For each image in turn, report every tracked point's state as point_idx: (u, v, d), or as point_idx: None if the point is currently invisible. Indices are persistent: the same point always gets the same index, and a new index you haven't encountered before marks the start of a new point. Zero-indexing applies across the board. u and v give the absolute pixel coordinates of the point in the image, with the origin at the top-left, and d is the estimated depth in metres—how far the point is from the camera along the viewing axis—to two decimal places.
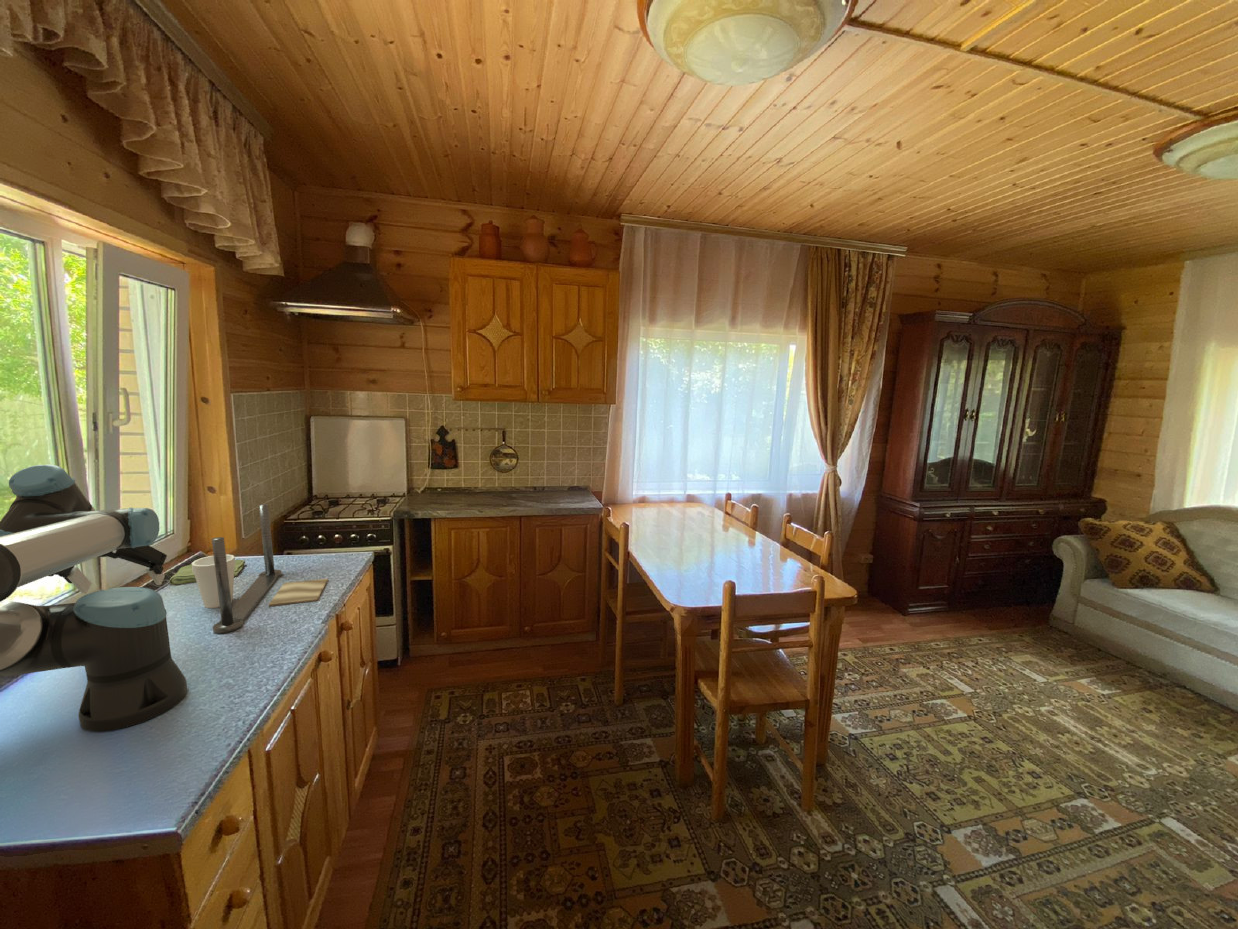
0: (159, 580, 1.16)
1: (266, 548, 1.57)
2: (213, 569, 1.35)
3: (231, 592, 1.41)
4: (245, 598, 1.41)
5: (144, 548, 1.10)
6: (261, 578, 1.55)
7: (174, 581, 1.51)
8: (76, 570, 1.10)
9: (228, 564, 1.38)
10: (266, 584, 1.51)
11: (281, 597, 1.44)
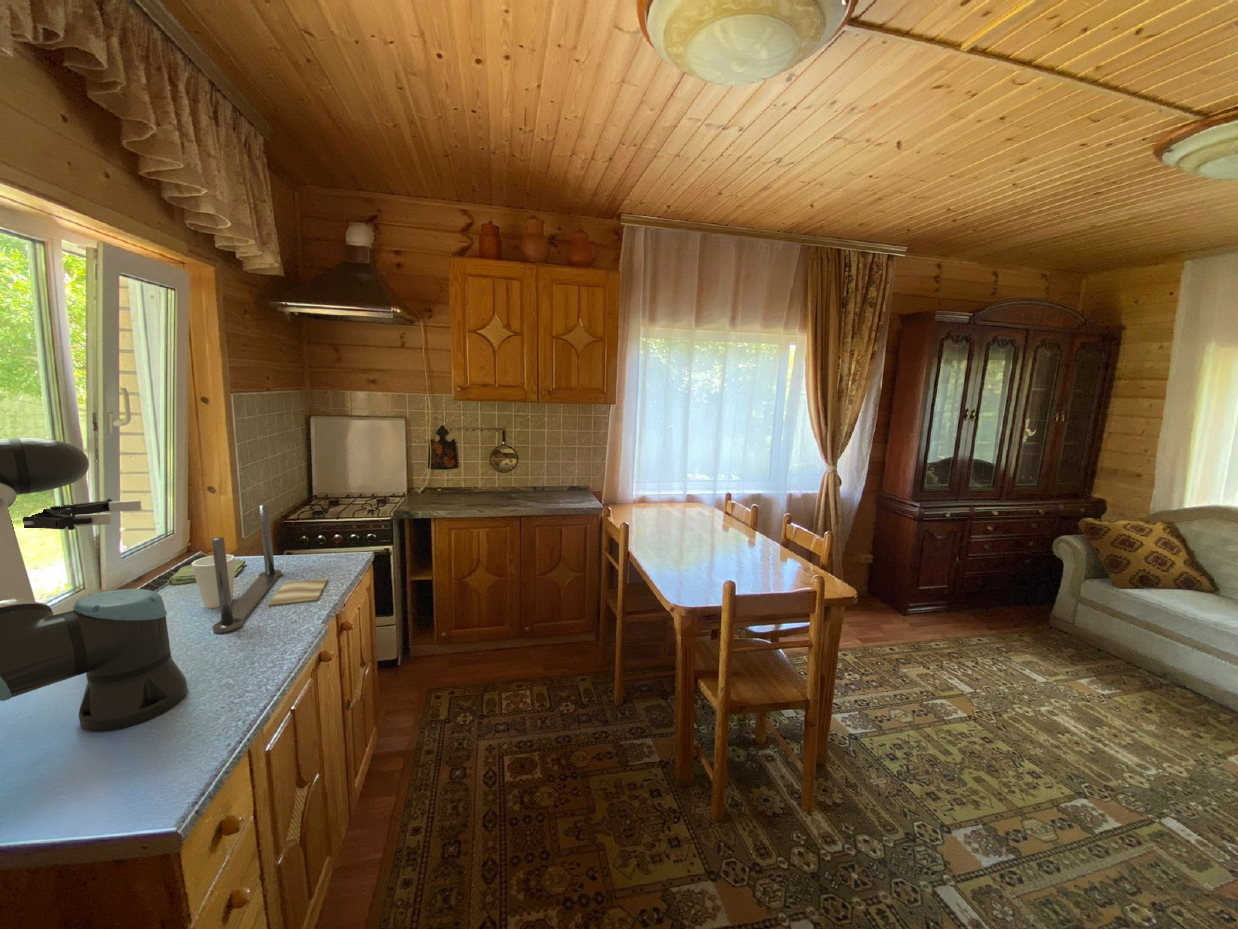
0: None
1: (266, 548, 1.57)
2: (213, 569, 1.35)
3: (231, 592, 1.41)
4: (245, 598, 1.41)
5: None
6: (261, 578, 1.55)
7: (173, 581, 1.51)
8: None
9: (228, 564, 1.38)
10: (266, 584, 1.51)
11: (281, 597, 1.44)
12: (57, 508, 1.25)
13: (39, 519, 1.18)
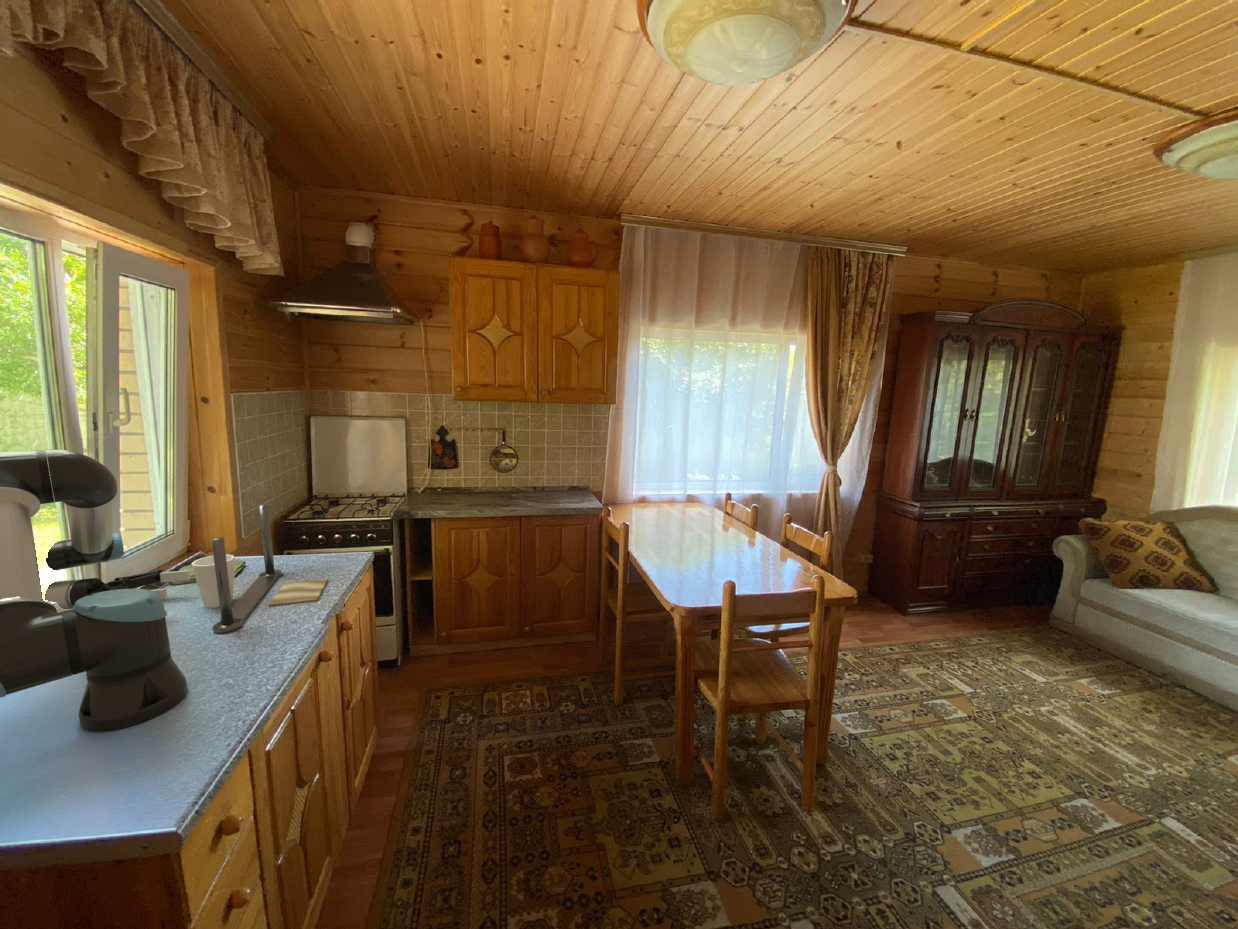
0: None
1: (266, 548, 1.57)
2: (213, 569, 1.35)
3: (231, 592, 1.41)
4: (245, 598, 1.41)
5: None
6: (261, 578, 1.55)
7: (172, 581, 1.51)
8: None
9: (228, 564, 1.38)
10: (266, 584, 1.51)
11: (281, 597, 1.44)
12: (114, 583, 1.32)
13: None
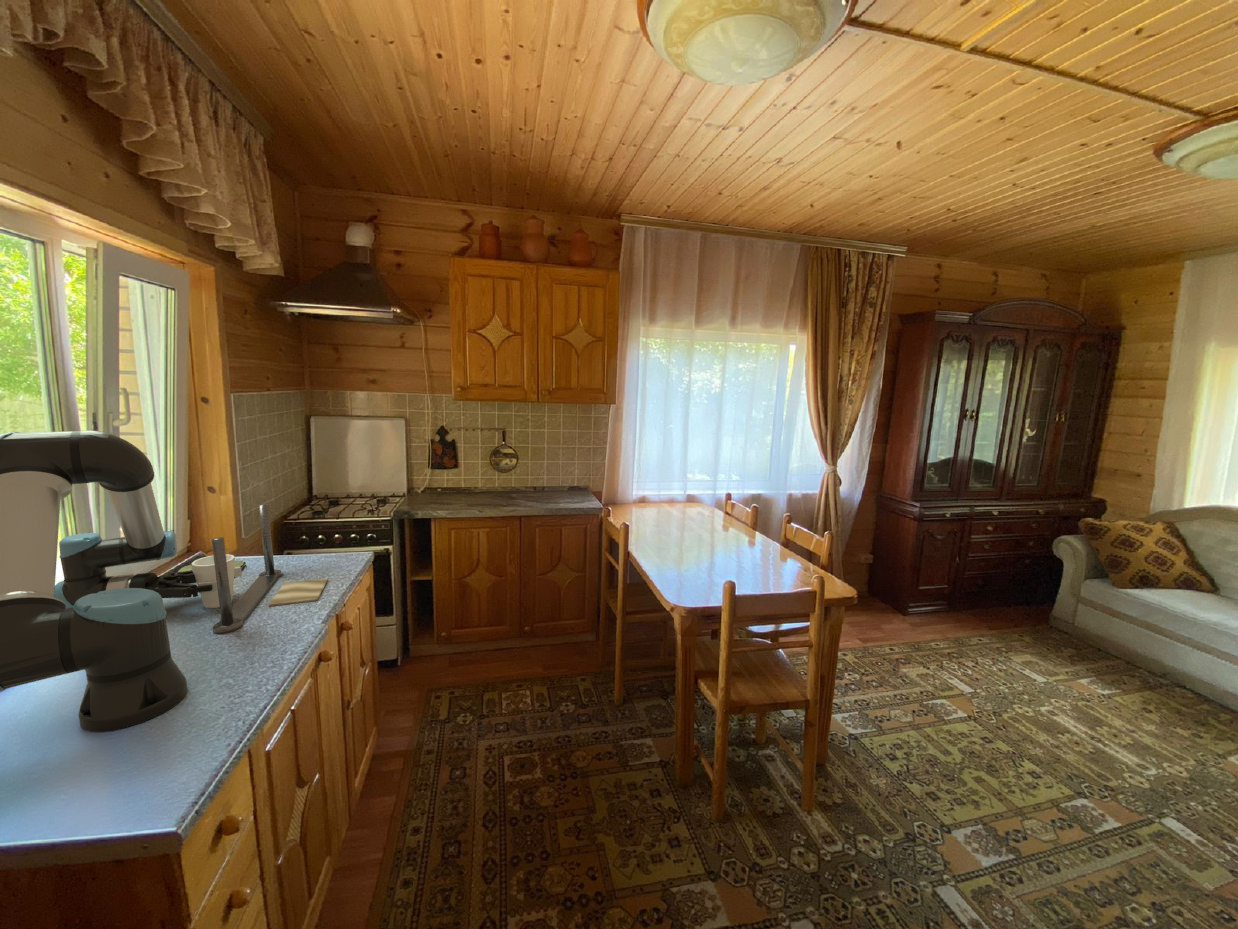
0: None
1: (266, 548, 1.57)
2: (213, 569, 1.35)
3: (231, 592, 1.41)
4: (245, 598, 1.41)
5: None
6: (261, 578, 1.55)
7: None
8: None
9: (228, 564, 1.38)
10: (266, 584, 1.51)
11: (281, 597, 1.44)
12: (169, 578, 1.36)
13: (165, 590, 1.29)
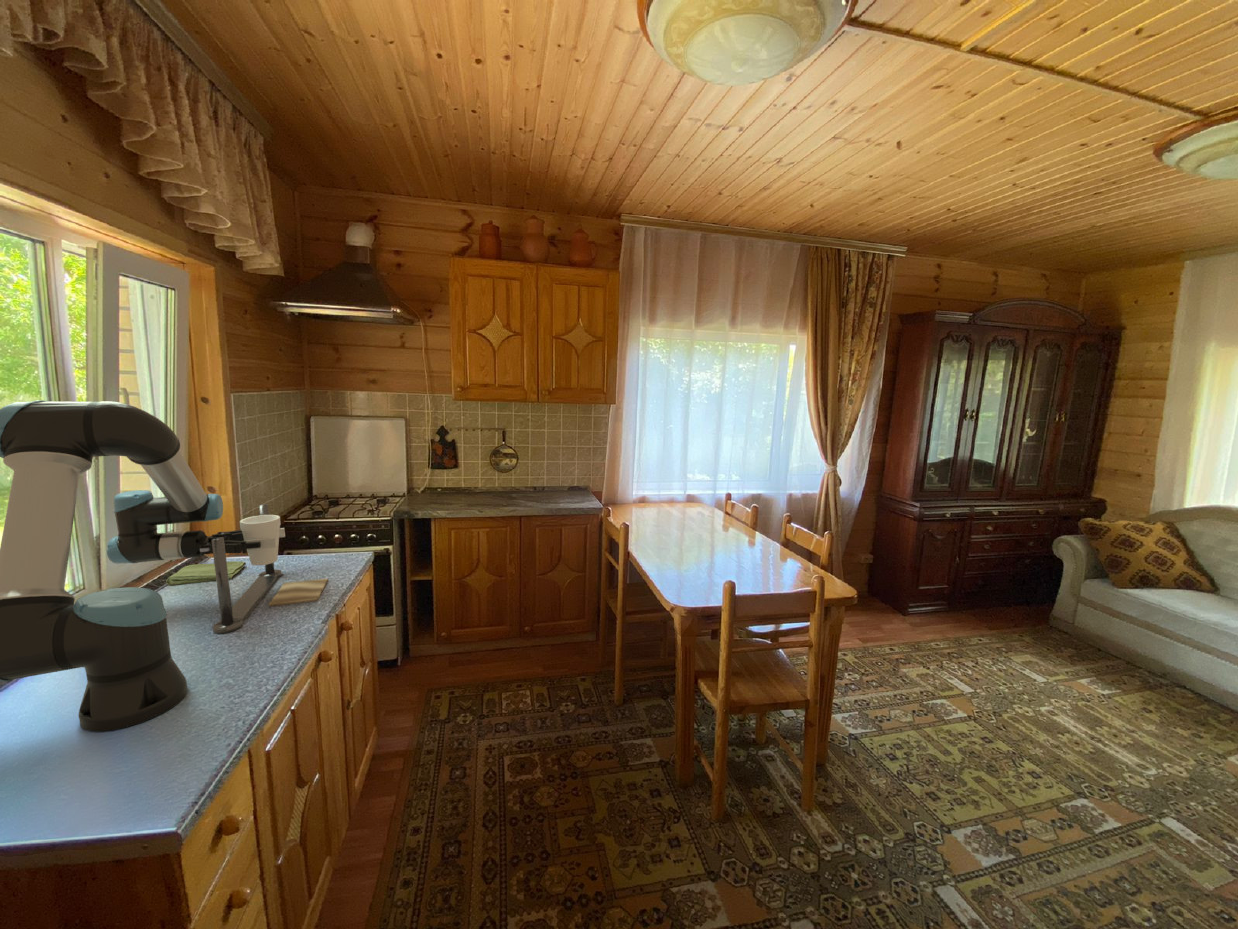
0: None
1: None
2: (261, 527, 1.38)
3: (276, 551, 1.44)
4: (245, 598, 1.41)
5: None
6: (261, 578, 1.55)
7: (170, 581, 1.51)
8: None
9: (275, 523, 1.41)
10: (266, 584, 1.51)
11: (281, 597, 1.44)
12: (217, 536, 1.40)
13: None
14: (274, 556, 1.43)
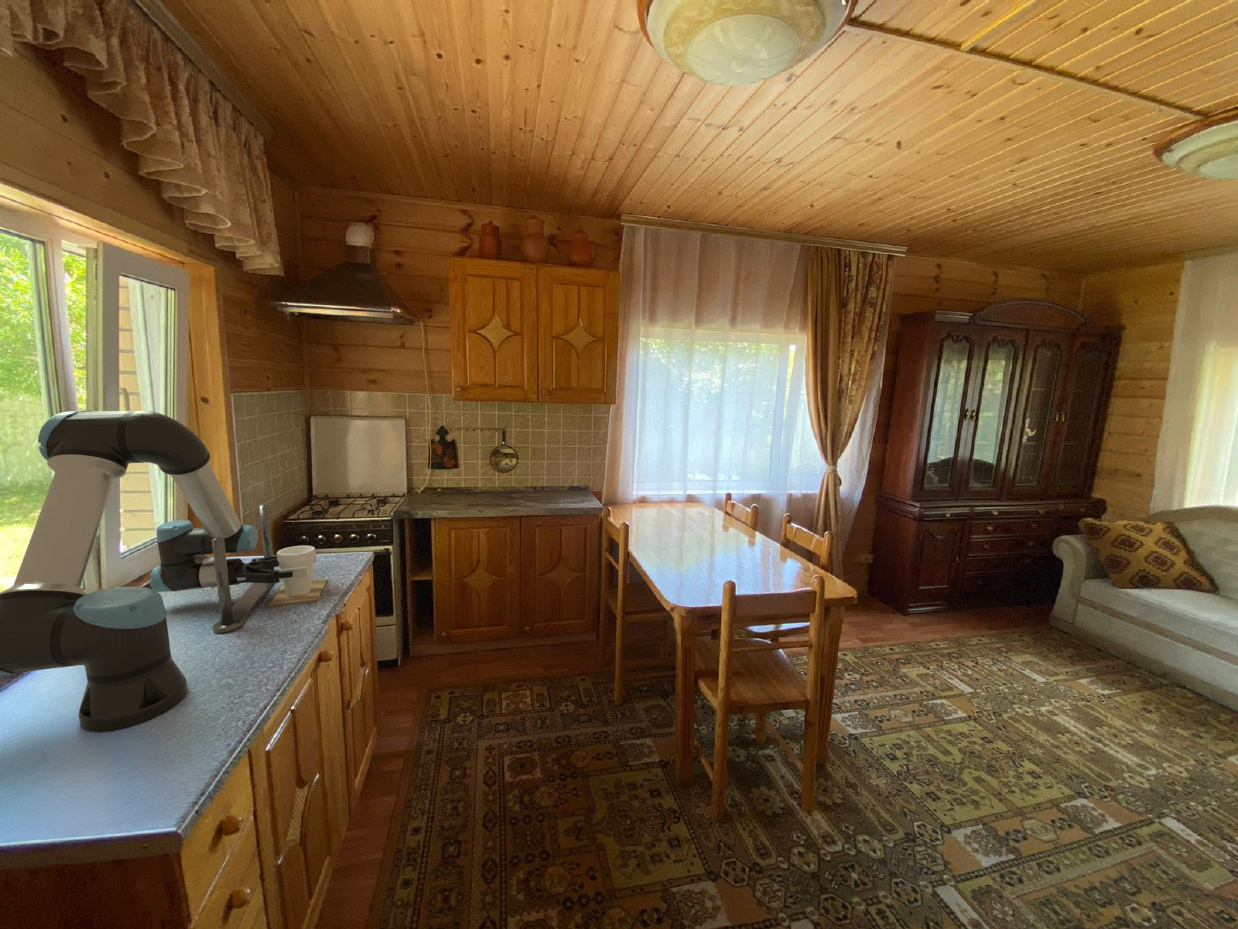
0: None
1: (266, 548, 1.57)
2: (297, 558, 1.42)
3: (311, 581, 1.48)
4: (245, 598, 1.41)
5: None
6: None
7: None
8: None
9: (310, 554, 1.45)
10: (266, 584, 1.51)
11: (281, 597, 1.44)
12: (254, 563, 1.43)
13: (252, 575, 1.36)
14: (309, 586, 1.47)
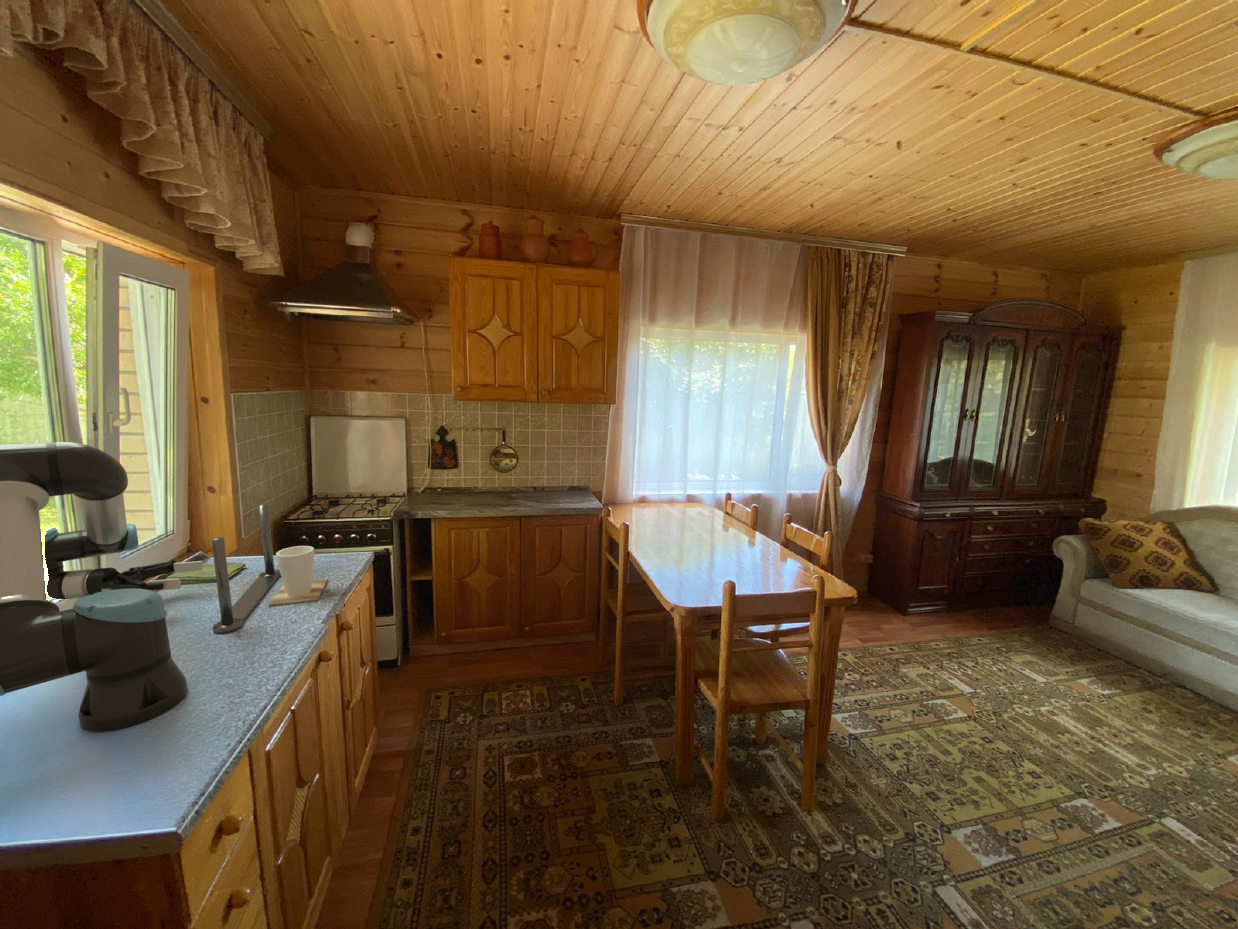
0: None
1: (266, 548, 1.57)
2: (297, 559, 1.42)
3: (311, 582, 1.48)
4: (245, 598, 1.41)
5: None
6: (261, 578, 1.55)
7: None
8: None
9: (309, 555, 1.45)
10: (266, 584, 1.51)
11: (281, 597, 1.44)
12: (129, 573, 1.34)
13: (116, 587, 1.26)
14: (308, 587, 1.47)
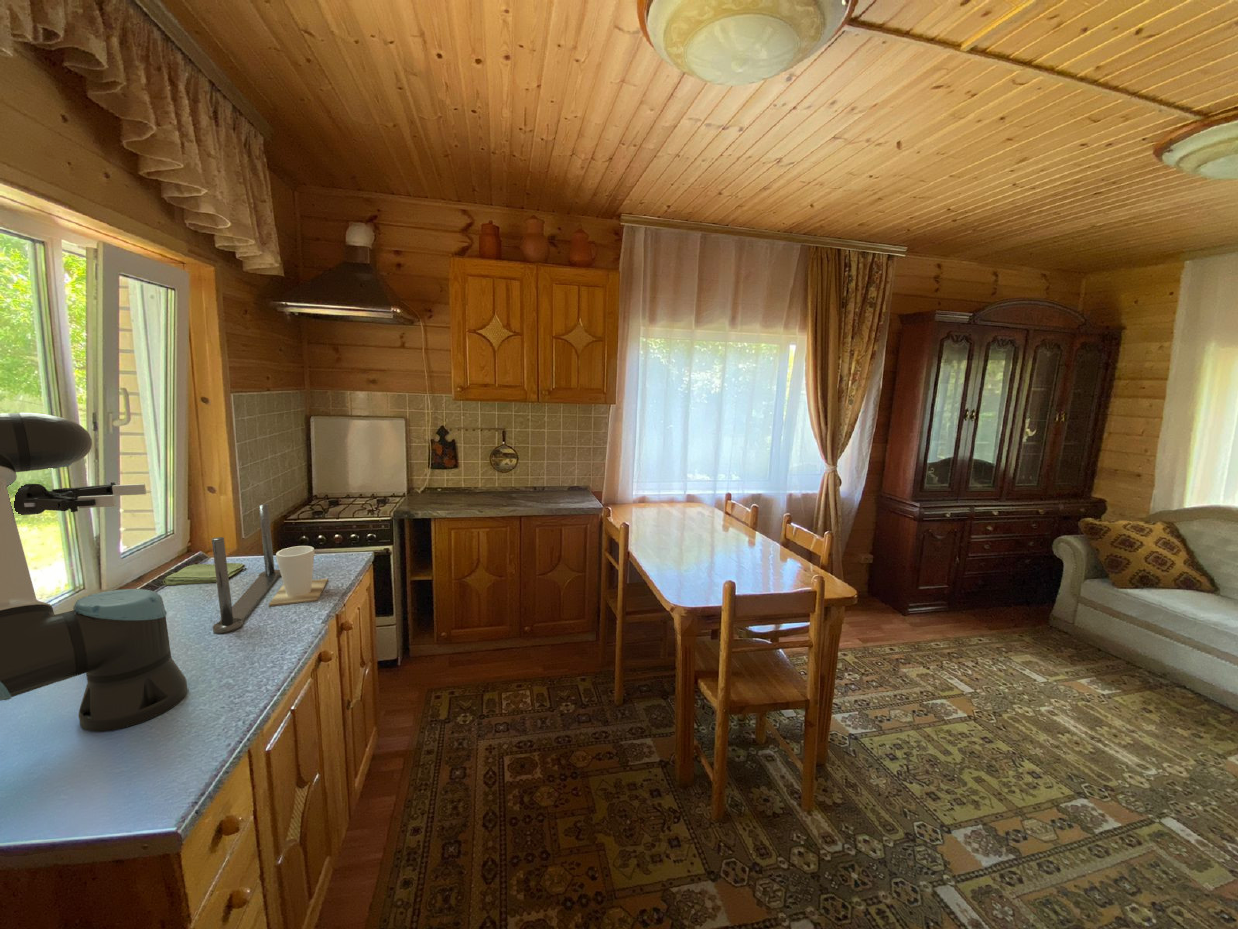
0: None
1: (266, 548, 1.57)
2: (297, 559, 1.42)
3: (311, 582, 1.48)
4: (245, 598, 1.41)
5: None
6: (261, 578, 1.55)
7: (166, 581, 1.51)
8: None
9: (309, 555, 1.45)
10: (266, 584, 1.51)
11: (281, 597, 1.44)
12: (59, 491, 1.21)
13: (41, 500, 1.14)
14: (308, 587, 1.47)
